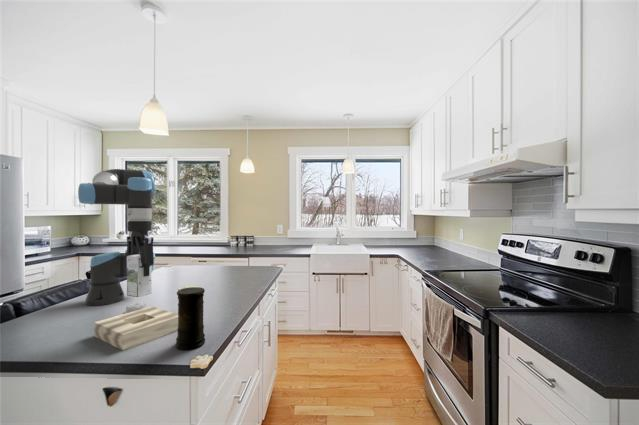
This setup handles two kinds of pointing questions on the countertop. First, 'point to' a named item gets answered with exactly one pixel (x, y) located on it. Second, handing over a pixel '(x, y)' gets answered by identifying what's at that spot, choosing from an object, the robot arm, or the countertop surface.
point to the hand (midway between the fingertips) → (139, 283)
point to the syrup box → (137, 277)
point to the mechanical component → (135, 307)
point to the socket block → (136, 327)
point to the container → (190, 318)
